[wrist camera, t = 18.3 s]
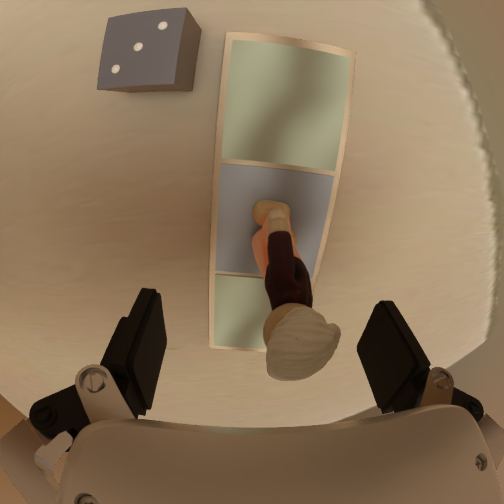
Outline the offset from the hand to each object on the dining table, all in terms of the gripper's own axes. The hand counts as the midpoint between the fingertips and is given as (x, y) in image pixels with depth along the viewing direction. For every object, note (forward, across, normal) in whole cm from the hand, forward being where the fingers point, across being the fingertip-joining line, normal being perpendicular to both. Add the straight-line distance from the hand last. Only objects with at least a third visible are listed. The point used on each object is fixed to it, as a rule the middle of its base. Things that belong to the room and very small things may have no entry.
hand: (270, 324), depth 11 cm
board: (+12, -1, 0) cm, 12 cm away
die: (+12, +8, -12) cm, 19 cm away
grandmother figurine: (+10, -1, 0) cm, 11 cm away
